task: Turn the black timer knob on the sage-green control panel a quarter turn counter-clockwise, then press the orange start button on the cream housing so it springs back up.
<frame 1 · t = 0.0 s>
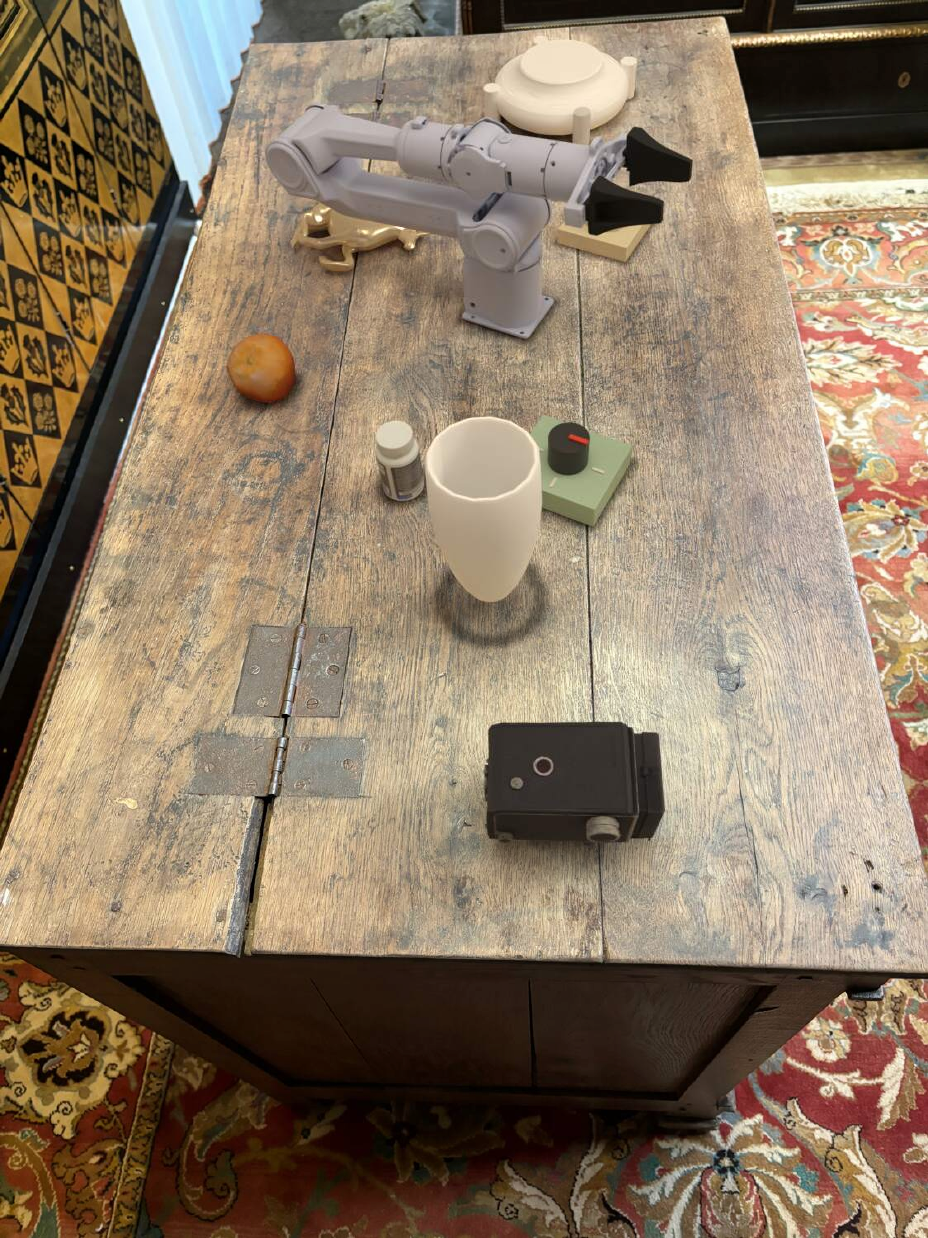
hand: (677, 190, 91), 22 cm above the table, tool horizontal, fingers open, 7 cm apart
timer knob: (568, 447, 96), point 5 cm above the table, hinge at 0.0°
camera: (566, 811, 80), on the table
timer panel: (566, 478, 100), on the table
unicorn: (352, 236, 126), on the table
teapot: (559, 109, 139), on the table
start button: (608, 201, 119), point 4 cm above the table, slide at 0.1 cm
cup: (491, 600, 92), on the table
pill bottle: (403, 487, 101), on the table
button housing: (606, 231, 122), on the table
fruit: (269, 390, 111), on the table
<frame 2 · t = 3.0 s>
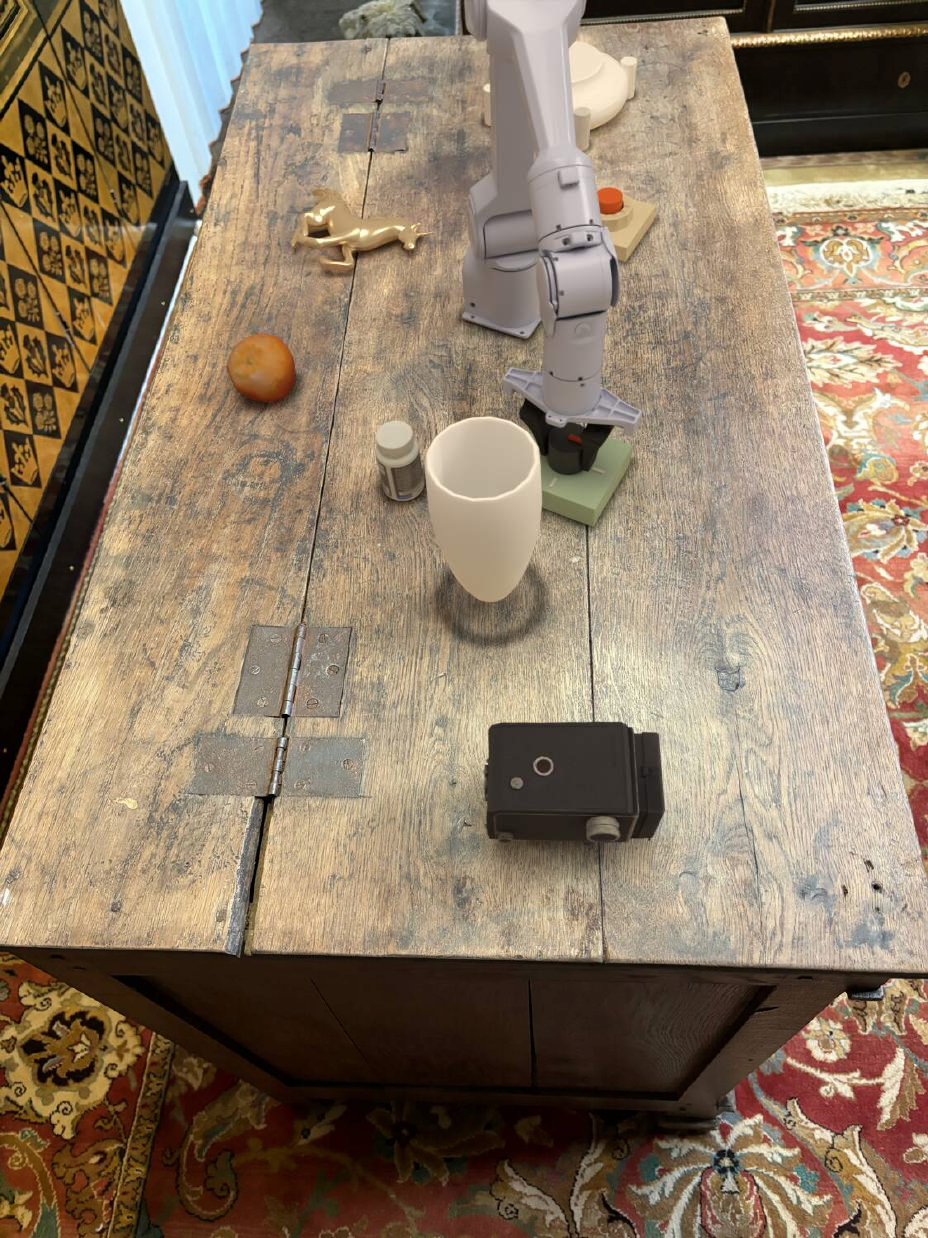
hand: (567, 456, 97), 4 cm above the table, tool pointing down, fingers closed on timer knob, 4 cm apart
timer knob: (568, 447, 96), point 5 cm above the table, hinge at -0.2°, touching gripper
everything else where it was.
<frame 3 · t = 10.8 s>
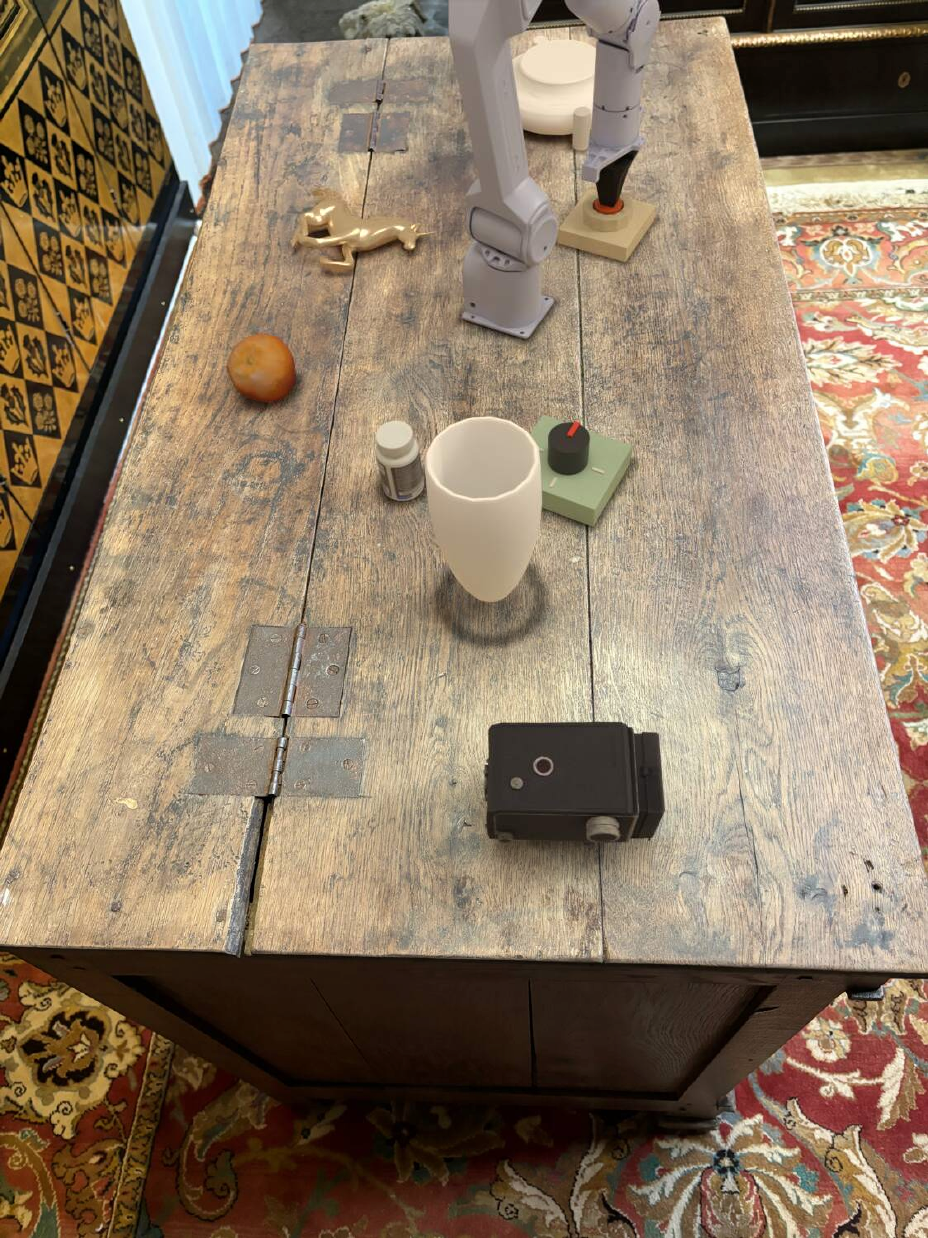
hand: (608, 202, 119), 4 cm above the table, tool pointing down, fingers closed, pressing on start button
timer knob: (568, 447, 96), point 5 cm above the table, hinge at 89.9°
start button: (607, 208, 120), point 3 cm above the table, slide at -1.0 cm, touching gripper
everything else where it was.
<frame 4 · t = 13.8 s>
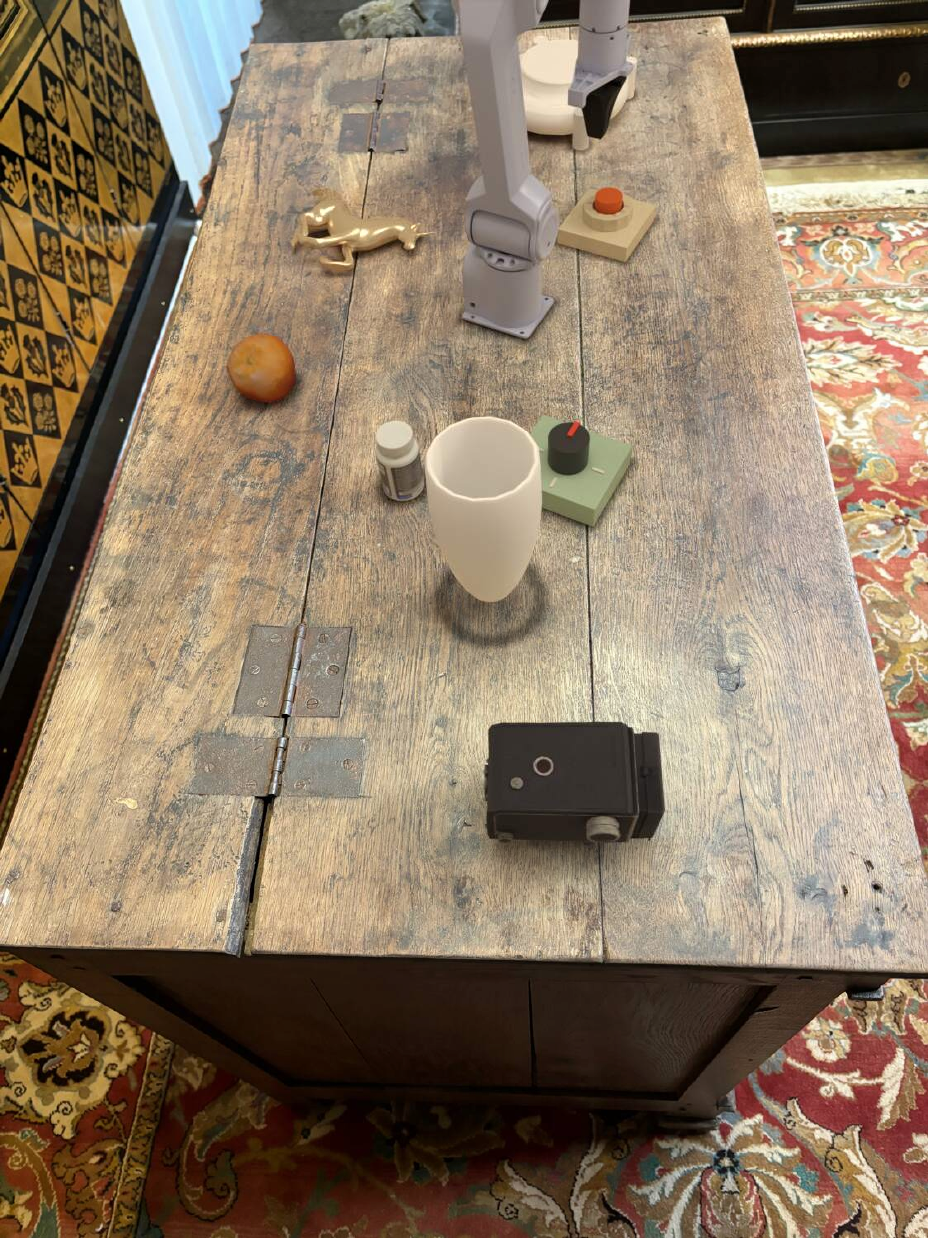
hand: (596, 134, 117), 10 cm above the table, tool pointing down, fingers closed
start button: (608, 201, 119), point 4 cm above the table, slide at 0.1 cm
everything else where it was.
at the end: timer knob at +90° (first picture: +0°); start button pushed in 1.2 cm at the most during the clip, back to where it started at the end; start button slide at 0.1 cm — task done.
